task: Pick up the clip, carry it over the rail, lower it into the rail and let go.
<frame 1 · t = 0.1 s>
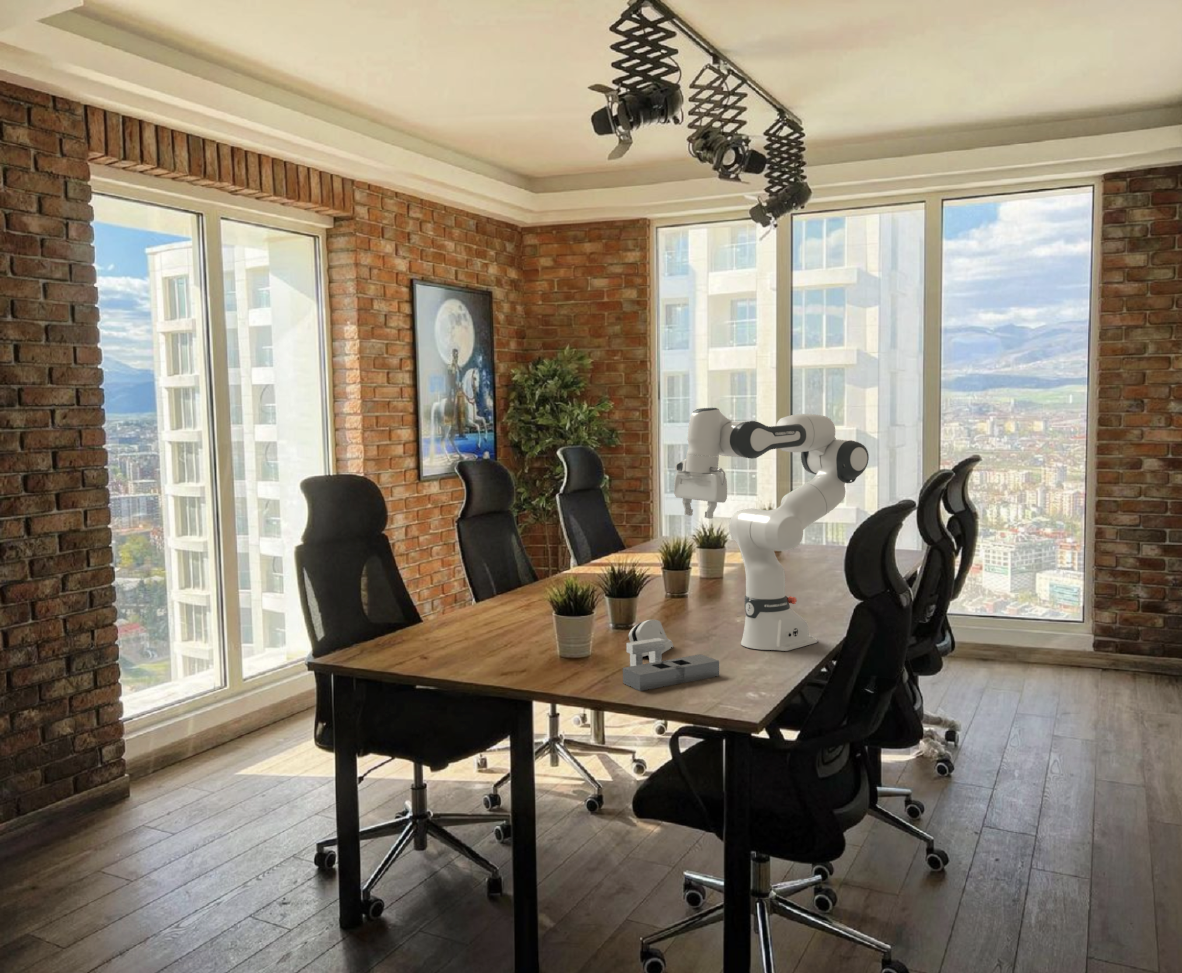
hand: (698, 516, 268), 39 cm above the table, tool pointing down, fingers open, 8 cm apart
rail: (671, 679, 248), on the table
clip: (646, 669, 259), on the table
white rounded piece: (650, 653, 277), on the table
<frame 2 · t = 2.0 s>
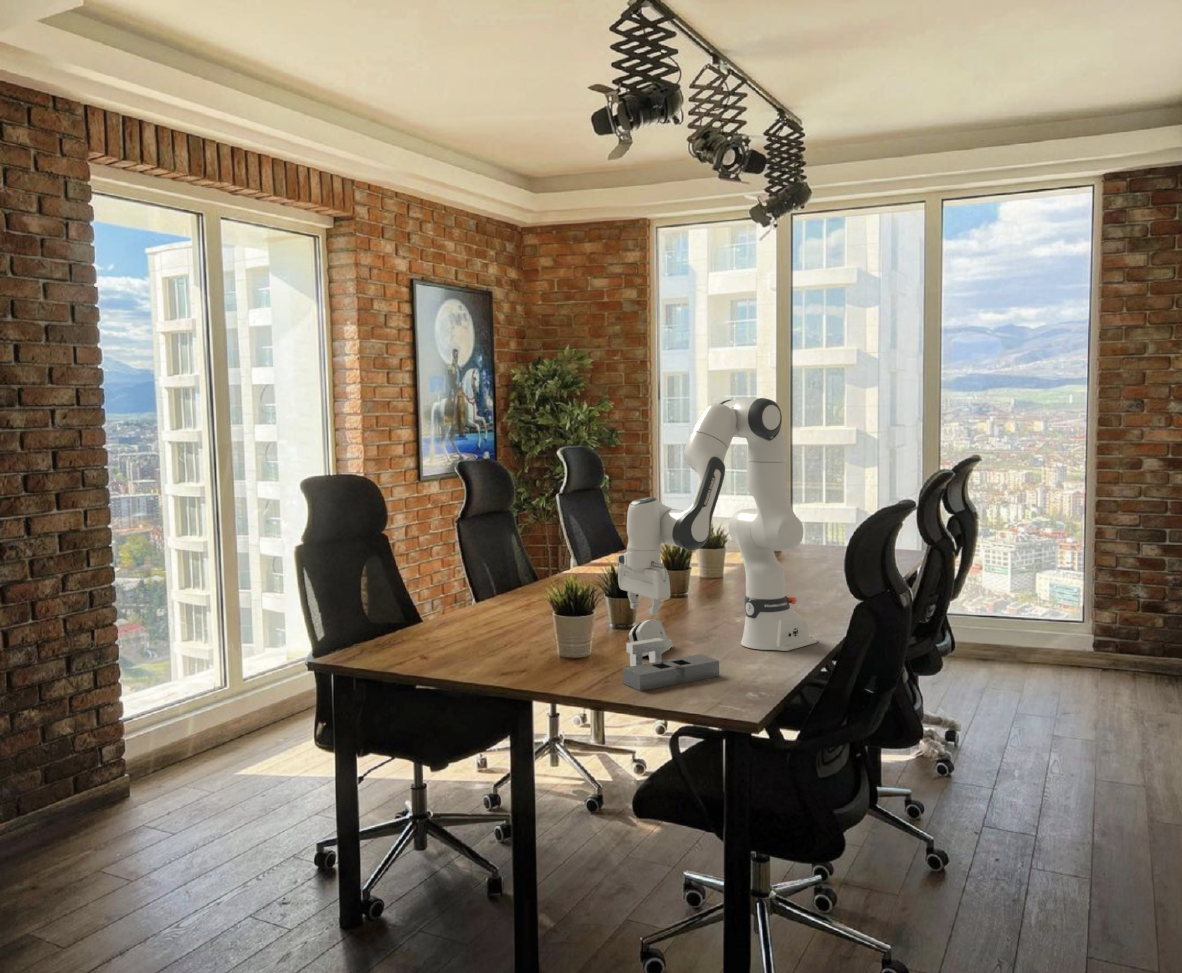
hand: (644, 611, 257), 15 cm above the table, tool pointing down, fingers open, 8 cm apart
nothing on the table moved.
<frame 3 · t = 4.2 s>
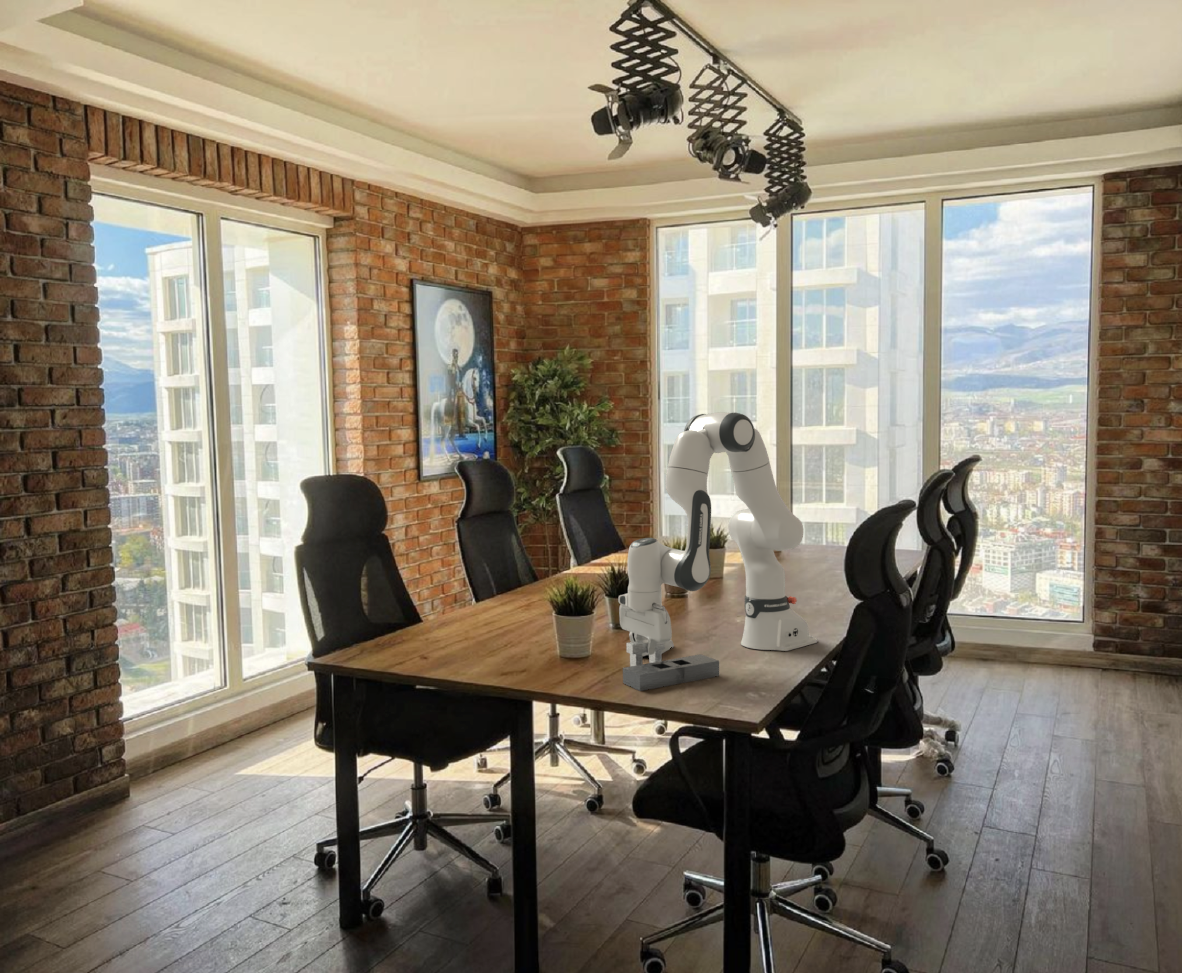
hand: (645, 652, 258), 5 cm above the table, tool pointing down, fingers closed on clip, 3 cm apart
clip: (646, 669, 258), on the table, touching gripper
everything else where it was.
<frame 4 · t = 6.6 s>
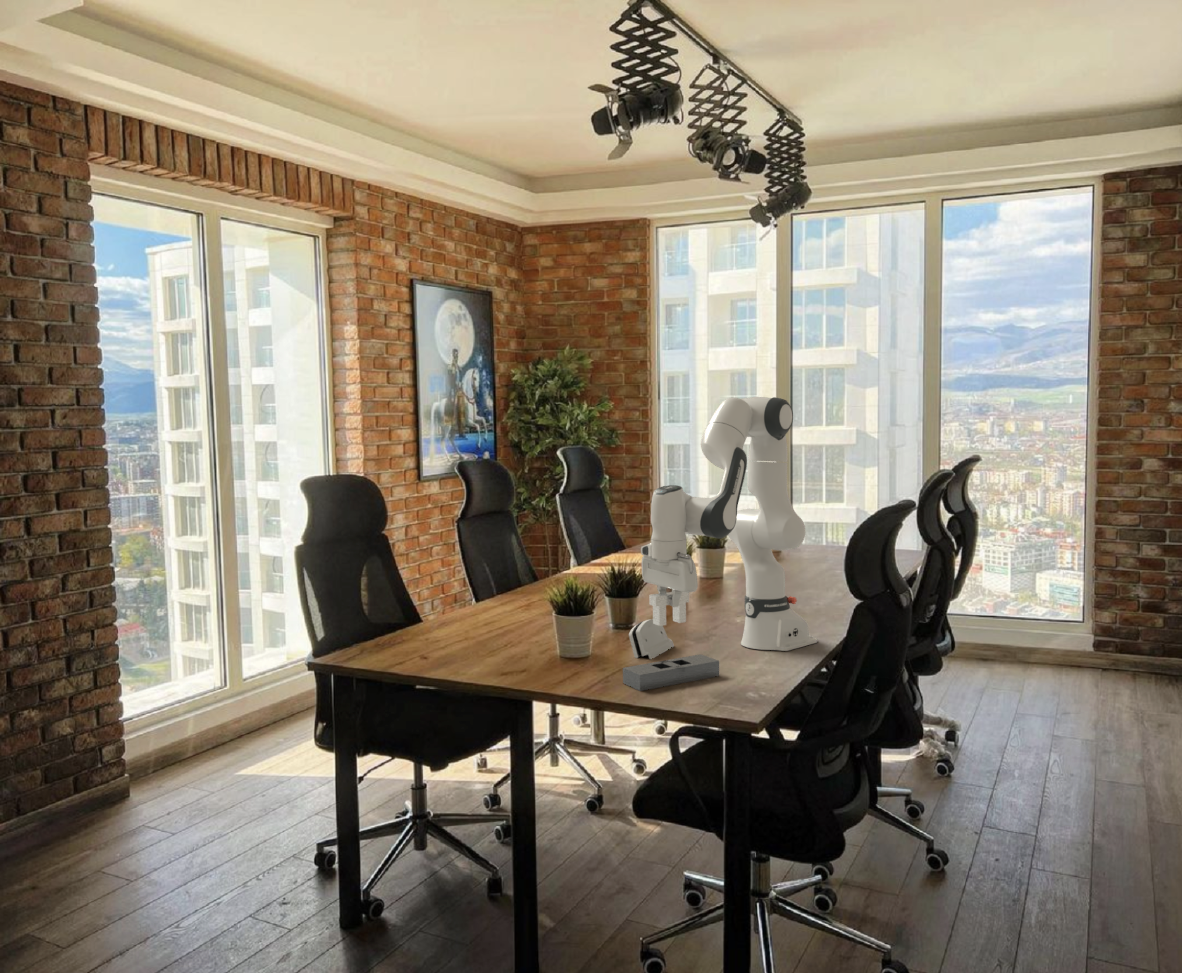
hand: (669, 604, 247), 19 cm above the table, tool pointing down, fingers closed on clip, 3 cm apart
clip: (669, 622, 247), point 15 cm above the table, touching gripper
everything else where it was.
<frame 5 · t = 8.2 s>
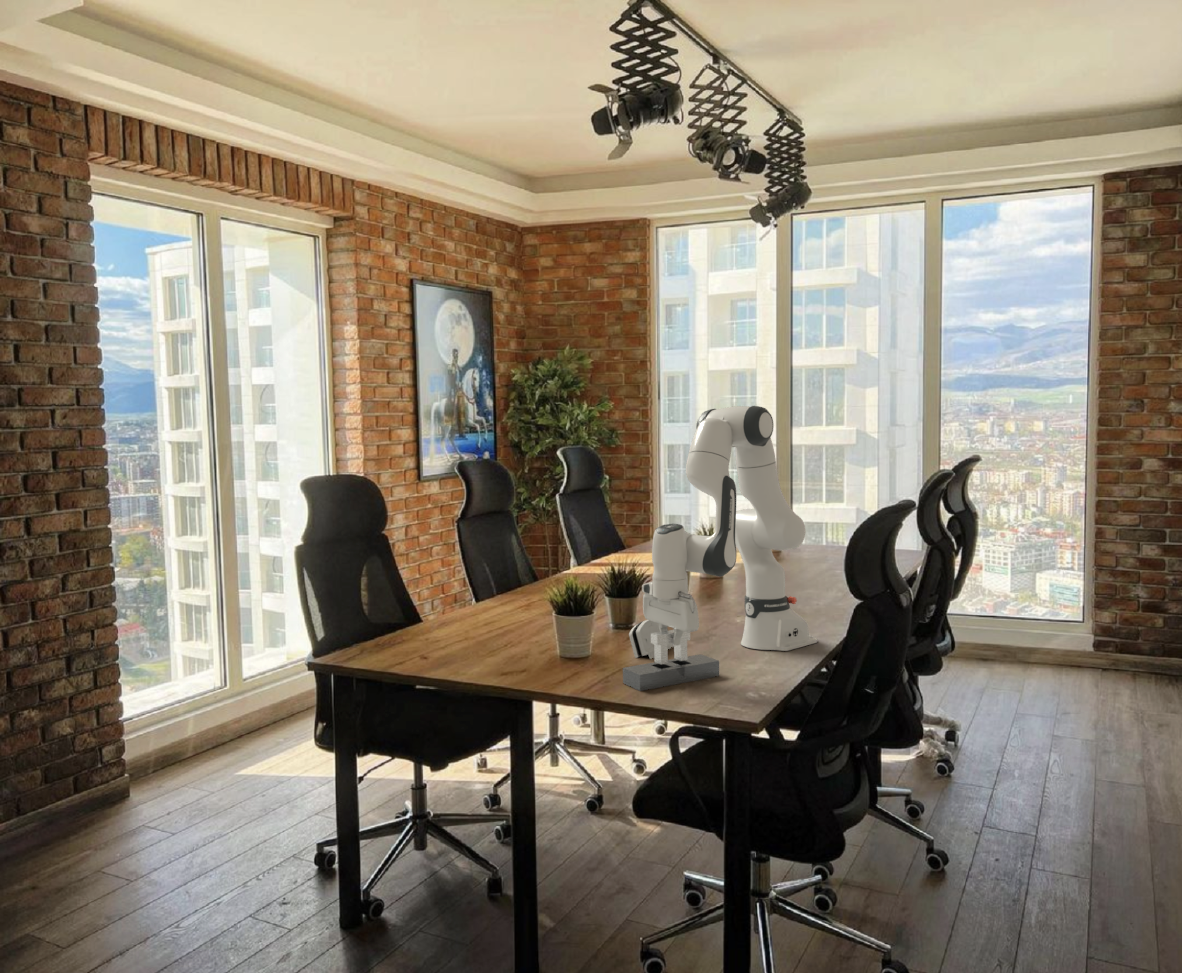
hand: (671, 643, 247), 9 cm above the table, tool pointing down, fingers closed on clip, 3 cm apart
clip: (671, 661, 248), point 5 cm above the table, touching gripper
everything else where it was.
when the fingers open (6 cm above the table, at t = 9.2 s): clip drops 1 cm, resting in rail.
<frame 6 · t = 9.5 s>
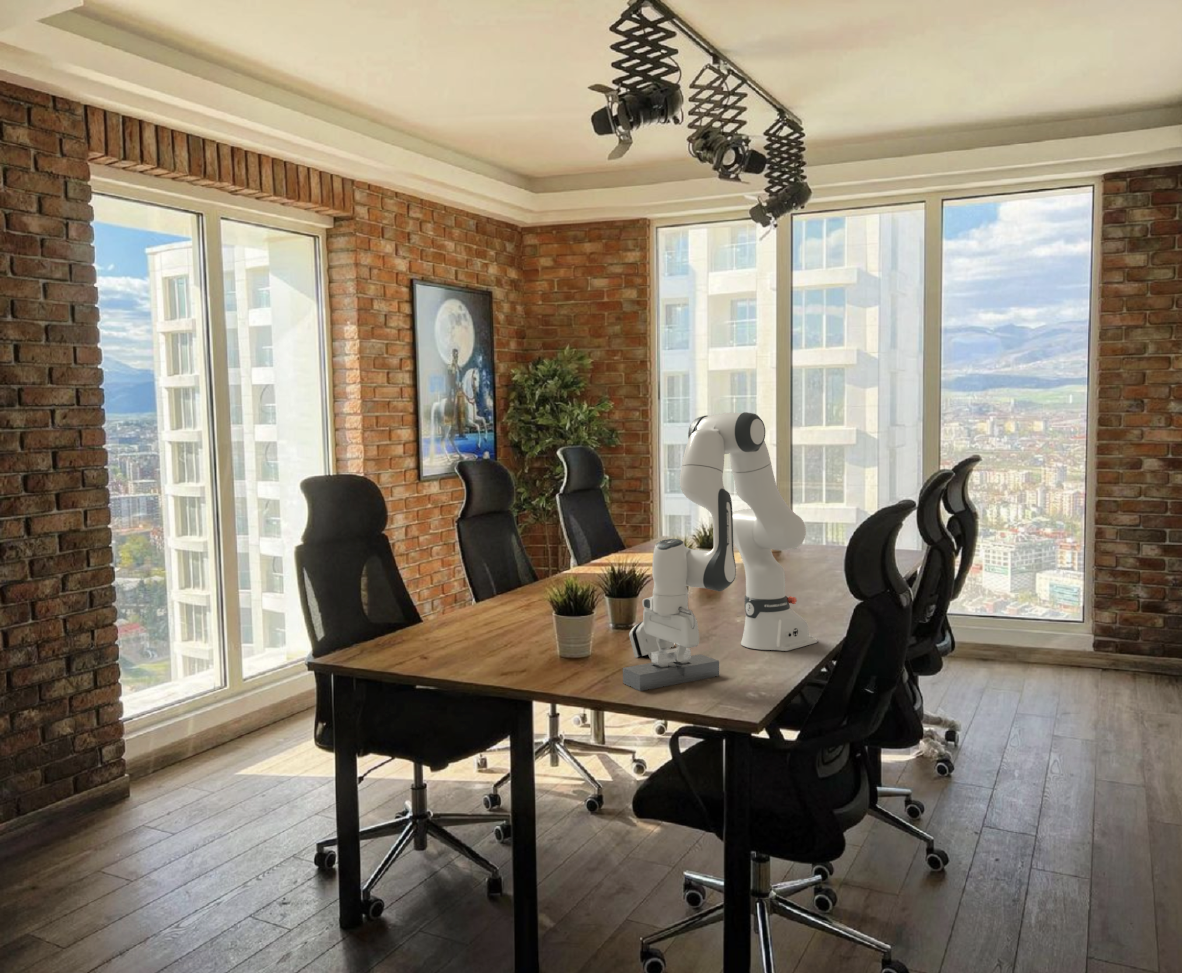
hand: (671, 658, 248), 6 cm above the table, tool pointing down, fingers open, 5 cm apart
clip: (671, 679, 248), resting in rail
everything else where it was.
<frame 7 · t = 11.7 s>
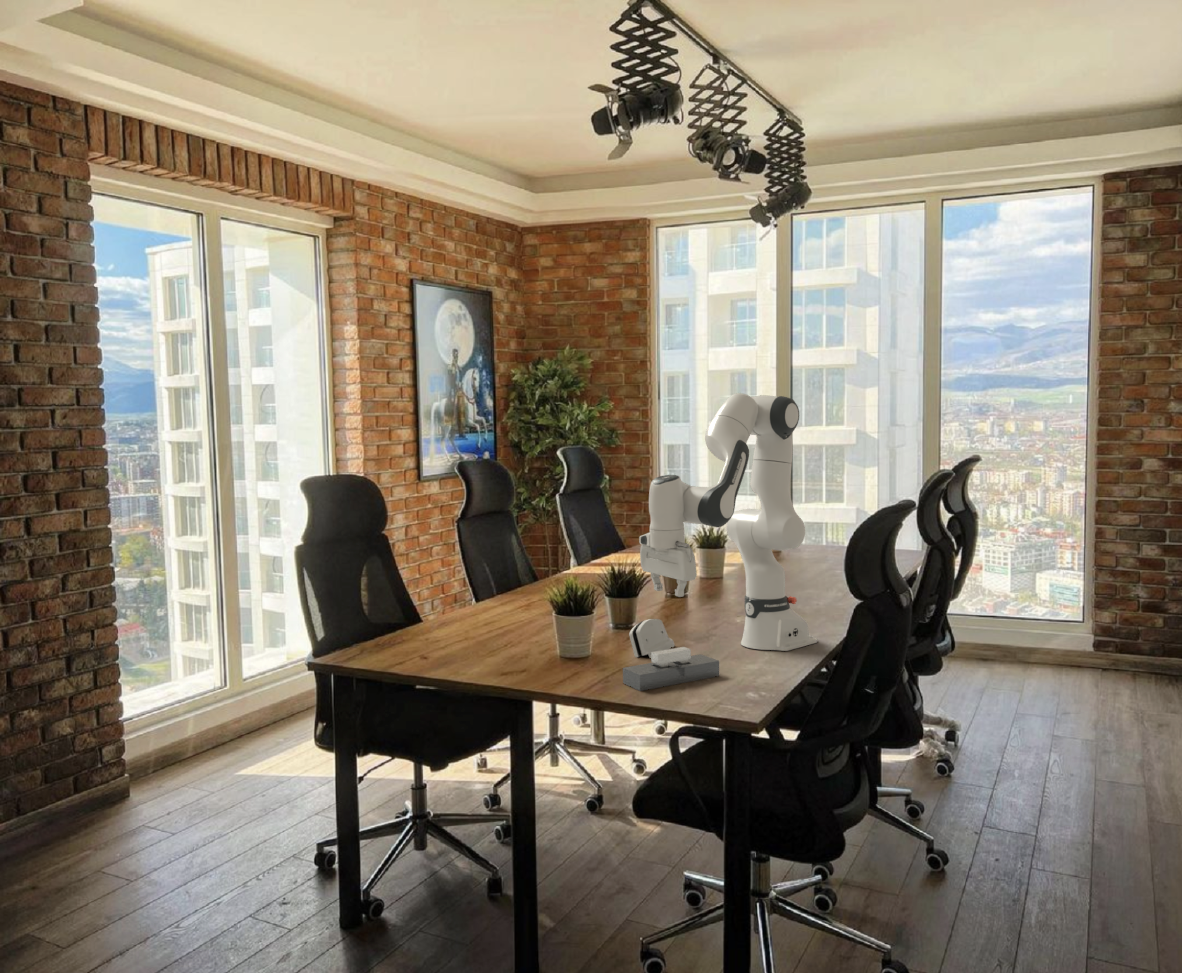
hand: (668, 593, 249), 22 cm above the table, tool pointing down, fingers open, 8 cm apart
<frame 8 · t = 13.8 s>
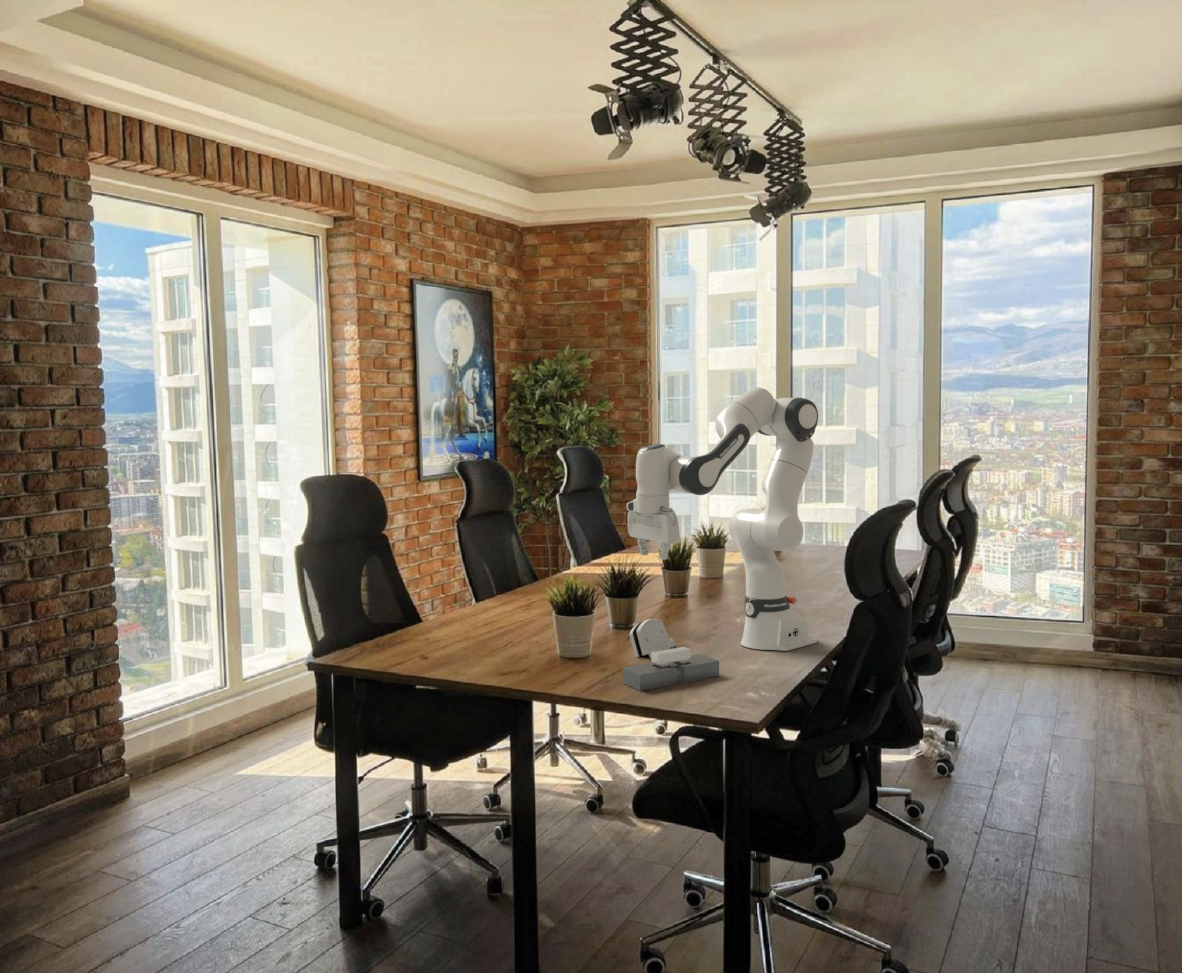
hand: (653, 557, 261), 29 cm above the table, tool pointing down, fingers open, 8 cm apart
at the end: clip 0.0 cm off-centre on the rail, point 0.0 cm above the rail's base; clip tilted 0°; the gripper is holding nothing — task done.
